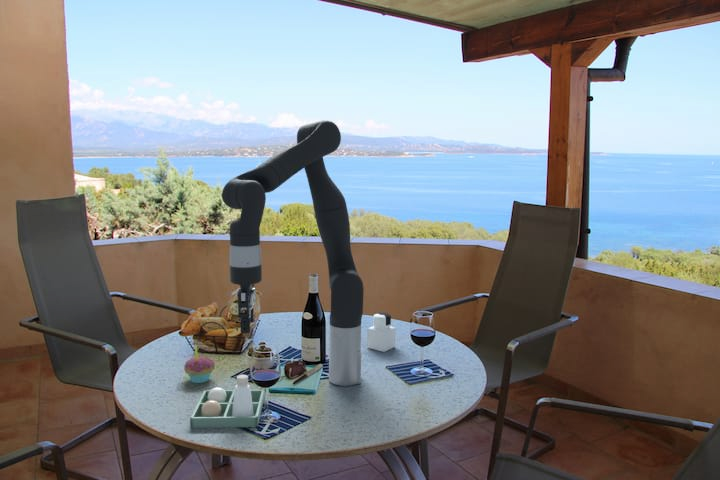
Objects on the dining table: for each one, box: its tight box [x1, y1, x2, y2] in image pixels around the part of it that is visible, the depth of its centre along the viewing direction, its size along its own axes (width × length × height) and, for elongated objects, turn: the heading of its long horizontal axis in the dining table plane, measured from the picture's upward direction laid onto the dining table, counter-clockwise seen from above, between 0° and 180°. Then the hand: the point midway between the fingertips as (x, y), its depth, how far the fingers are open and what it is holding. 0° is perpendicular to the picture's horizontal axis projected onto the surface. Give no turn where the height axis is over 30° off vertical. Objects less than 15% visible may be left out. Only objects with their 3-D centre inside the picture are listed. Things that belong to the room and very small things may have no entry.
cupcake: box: [183, 343, 216, 384], centre depth 157 cm, size 9×8×12 cm
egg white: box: [208, 386, 227, 403], centre depth 142 cm, size 5×5×5 cm
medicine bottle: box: [367, 312, 397, 353], centre depth 189 cm, size 7×7×12 cm
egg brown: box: [201, 400, 221, 417], centre depth 134 cm, size 5×5×5 cm
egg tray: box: [189, 389, 265, 429], centre depth 138 cm, size 16×16×3 cm
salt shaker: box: [232, 374, 254, 417], centre depth 134 cm, size 5×5×11 cm
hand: (247, 327), depth 135 cm, fingers open, 8 cm apart
